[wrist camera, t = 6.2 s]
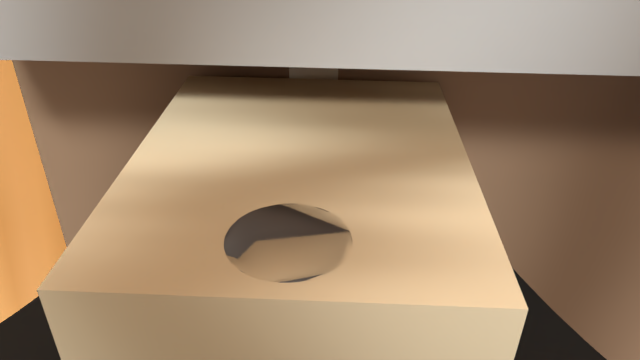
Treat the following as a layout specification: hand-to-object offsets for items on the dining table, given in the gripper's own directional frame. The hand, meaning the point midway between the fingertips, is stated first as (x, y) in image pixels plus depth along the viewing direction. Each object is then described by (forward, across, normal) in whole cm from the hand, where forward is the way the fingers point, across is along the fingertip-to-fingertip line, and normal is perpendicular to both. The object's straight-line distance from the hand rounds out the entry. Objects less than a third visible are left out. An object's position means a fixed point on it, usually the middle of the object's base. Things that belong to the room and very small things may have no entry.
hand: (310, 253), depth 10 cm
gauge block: (+1, 0, 0) cm, 1 cm away
